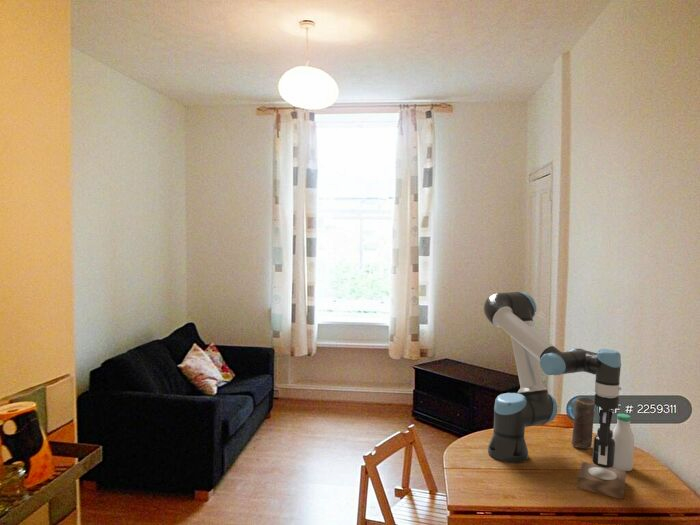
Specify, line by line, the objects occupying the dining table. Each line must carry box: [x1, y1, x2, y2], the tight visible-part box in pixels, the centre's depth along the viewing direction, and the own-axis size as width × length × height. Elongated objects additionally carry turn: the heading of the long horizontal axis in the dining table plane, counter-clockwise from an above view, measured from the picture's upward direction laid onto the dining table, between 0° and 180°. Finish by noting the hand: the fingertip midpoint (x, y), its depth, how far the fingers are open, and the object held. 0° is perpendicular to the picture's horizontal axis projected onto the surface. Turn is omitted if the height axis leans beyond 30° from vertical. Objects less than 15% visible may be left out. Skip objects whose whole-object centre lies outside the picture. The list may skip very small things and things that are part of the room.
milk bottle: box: [612, 413, 635, 472], centre depth 197 cm, size 8×8×20 cm
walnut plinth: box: [577, 461, 627, 500], centre depth 183 cm, size 14×14×4 cm
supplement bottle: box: [591, 427, 615, 468], centre depth 182 cm, size 7×7×12 cm
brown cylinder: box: [571, 396, 596, 450], centre depth 215 cm, size 8×7×20 cm
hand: (603, 459), depth 182 cm, fingers closed on supplement bottle, 7 cm apart
